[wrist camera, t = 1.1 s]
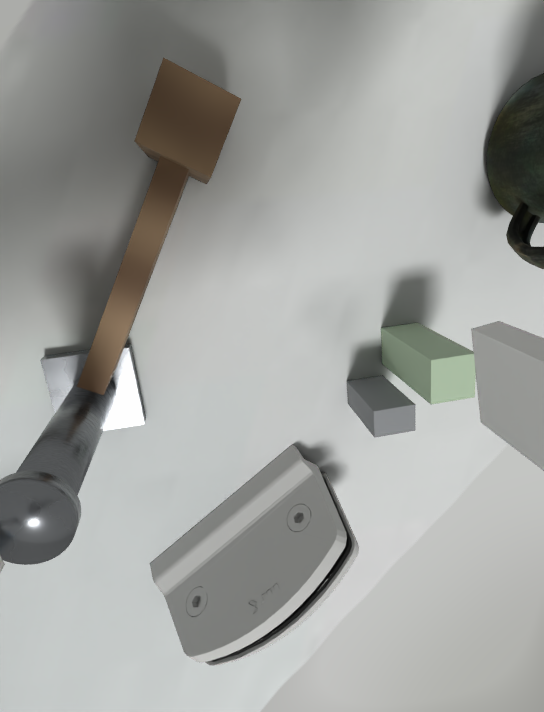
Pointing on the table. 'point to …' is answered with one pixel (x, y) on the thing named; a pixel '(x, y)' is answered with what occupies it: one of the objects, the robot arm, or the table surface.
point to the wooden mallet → (160, 197)
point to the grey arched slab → (257, 562)
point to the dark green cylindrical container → (520, 166)
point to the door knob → (63, 457)
